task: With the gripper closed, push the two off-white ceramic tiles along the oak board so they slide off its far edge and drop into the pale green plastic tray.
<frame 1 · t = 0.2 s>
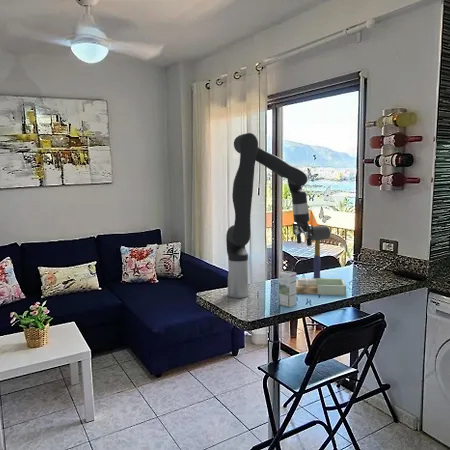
hand: (304, 244, 209), 22 cm above the breakfast bar, tool pointing down, fingers open, 8 cm apart
board: (304, 290, 208), on the breakfast bar
syrup box: (287, 305, 185), on the breakfast bar
tray: (330, 290, 206), on the breakfast bar
tile rear: (302, 284, 208), point 3 cm above the breakfast bar, touching board
rubber mallet: (316, 283, 222), on the breakfast bar
tile front: (311, 284, 207), point 3 cm above the breakfast bar, touching board
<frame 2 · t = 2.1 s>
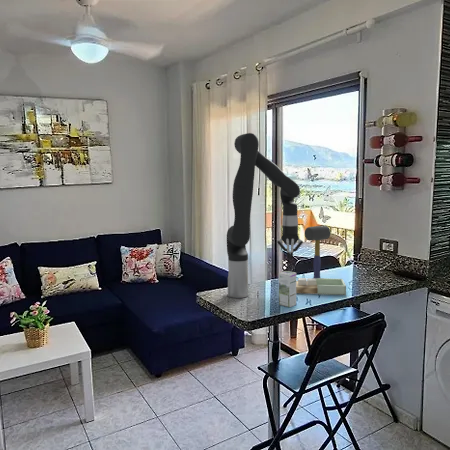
hand: (290, 259, 207), 15 cm above the breakfast bar, tool pointing down, fingers closed
nothing on the breakfast bar moved.
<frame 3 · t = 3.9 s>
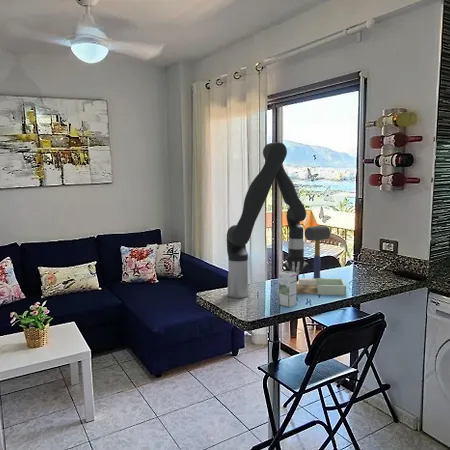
hand: (295, 282, 208), 4 cm above the breakfast bar, tool pointing down, fingers closed
tile rear: (303, 284, 208), point 3 cm above the breakfast bar, touching gripper
everything else where it was.
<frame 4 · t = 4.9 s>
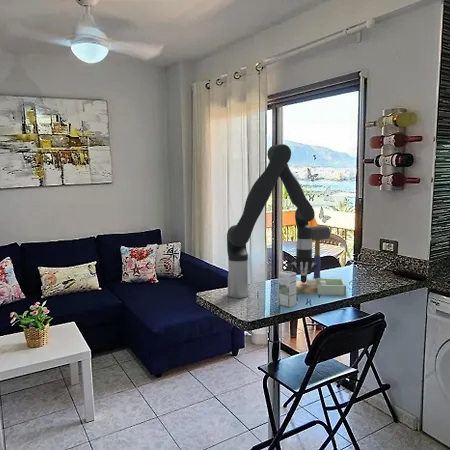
hand: (303, 282, 208), 4 cm above the breakfast bar, tool pointing down, fingers closed
tile rear: (311, 284, 207), point 3 cm above the breakfast bar, touching board, gripper
tile front: (320, 285, 206), point 3 cm above the breakfast bar, tilted 90°, touching tray
everything else where it was.
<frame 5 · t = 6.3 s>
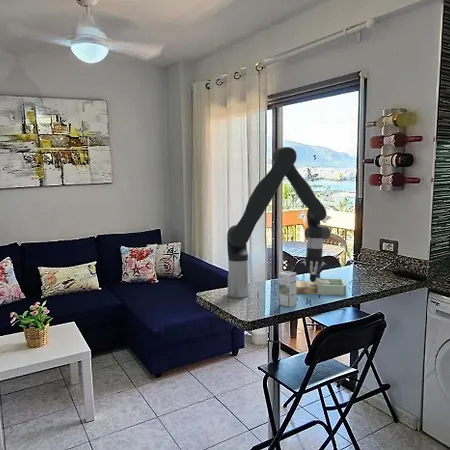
hand: (312, 281, 207), 4 cm above the breakfast bar, tool pointing down, fingers closed
tile rear: (317, 284, 206), point 3 cm above the breakfast bar, tilted 24°, touching gripper, tile front
tile front: (322, 283, 206), point 3 cm above the breakfast bar, tilted 114°, touching tile rear, tray
everything else where it was.
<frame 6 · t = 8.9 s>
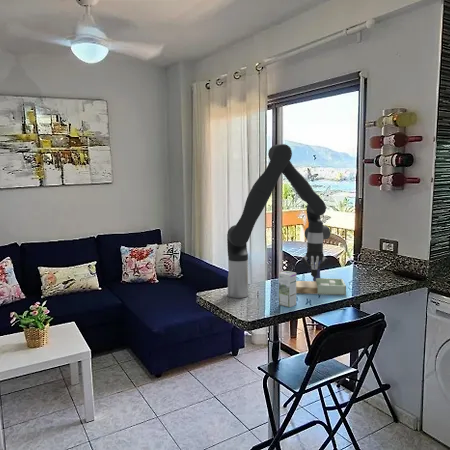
hand: (314, 276, 206), 7 cm above the breakfast bar, tool pointing down, fingers closed
tile rear: (324, 289, 206), point 1 cm above the breakfast bar, touching tray
tile front: (329, 285, 206), point 3 cm above the breakfast bar, tilted 90°, touching tray
everything else where it was.
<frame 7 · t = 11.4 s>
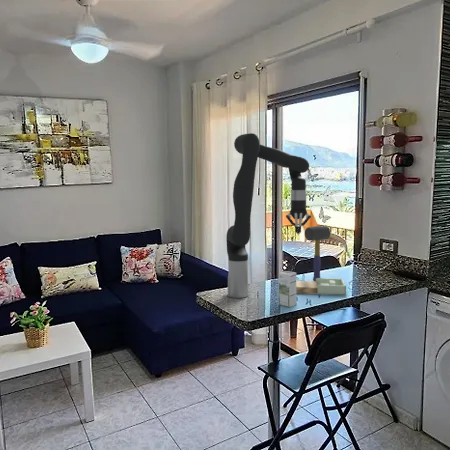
hand: (298, 233, 212), 27 cm above the breakfast bar, tool pointing down, fingers closed
nothing on the breakfast bar moved.
at the end: tile front inside the target area on the tray (1.2 cm from its centre), point 2.6 cm above the tray's base; tile rear inside the target area on the tray (3.4 cm from its centre), point 0.6 cm above the tray's base; tile front touching tray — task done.
